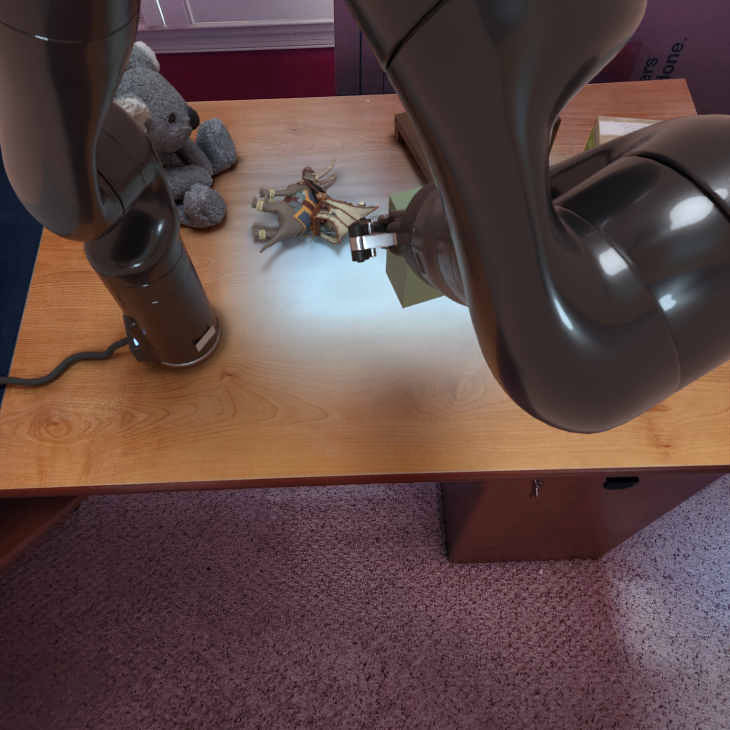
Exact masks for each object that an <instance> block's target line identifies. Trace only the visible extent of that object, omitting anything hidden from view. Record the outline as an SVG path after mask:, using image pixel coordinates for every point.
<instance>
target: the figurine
mask: <svg viewBox="0 0 730 730" xmlns="http://www.w3.org/2000/svg"><path fill="white" fill-rule="evenodd" d="M336 160H337V157H333V159H332V161H331V163H330V165H329V167H328V168H326V169H325V170H324V171H322V172H321V173H319V174H315V170H314V169H313V168H312V167H311V166H304V168H303V169H302V171H301V179H300V180H299V181H298V182H296V183H291V184H288V185H287V186H286V188H285V189H278V190H275V189H273V188H270V189H266V188H264V187H263V186H261V185H259V188H258V194H260V195H259V196H258V197H259V198H263V200H262V199H258V198H257V197H256V195H253V197H252V201H251V204H250V206H249V207H250V209H251V208H252V209H256V212H259V213H266V214H267V213H268V214H273V215H275V214H277V221H278V227H277V228H273V229H271V230H266V229H263V228H261V229H257V228H256V226H255V224H254V223H251V234H252V240H255V239H257V238H259V240H261V242H263V241H264V240H266V239H270V240H268V242H267V243H266V244H264V245H263V246H262V247H261V248H260V250H259V254H262V253H263V252H265V250H266V249H267V250H268V249H269V248H271V247H273V246H274V245H276V244H277V243H279V242H281V241H283V240H287V239H288V240H289V239H292V238H295V237H300V236H301V235H302V234H304V232H306V231H307V232H306V233H305V234H304V235H303V237H301V239H300V242H302V241H303V240H304V239H305V238H306V239H310V240H309V243H308V244H309V245H310V244H311V243H312V242H313V241H314V239H315V238H316V237H318V238H320V239H323V240H324V241H326V242H327V243H329V244H331V245H333V246H337V245H340V244H341V242H342V240H341V239H342V238H343V237H345V236H346V235H347V234H348V235H349V233H348V226H349V225H350V224H352V223H353V222H355V221H357V220H360V218H367V216H369V215H370V214H372V213H373V212H375V211H376V210H378V209H379V208H380V205H371V204H370V205H369V204H366V201H359V202H357V205H356V204H353V203H352V202H348V201H345V200H340V199H335V198H332V197H331V196H330V195H329V194H327V190H326V189H325V188H324V186H323V185H326V184H328V183H330V182H333V181H334V179H335V178H336V176H337V172H332V170H333V168H334V166H335V164H336ZM329 173H330V174H332V175H333V176H331V177H329V178H326V179H323V178H324V177H325V176H327V174H329ZM321 179H322V180H321ZM276 197H277V198H278V197H284V198H283V200H280V201H279V200H278V201H275V198H276ZM309 233H310V234H313V235H312V236H313V237H310V236H307V234H309Z"/></svg>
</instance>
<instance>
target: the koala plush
mask: <svg viewBox="0 0 730 730" xmlns="http://www.w3.org/2000/svg"><path fill="white" fill-rule="evenodd" d="M155 53H156V52H155V51H154V50H153V49H152V48H151V47H150V46H148V45H147V44H146V43H145V42H144V41H143V40H140V41H135V42H134V45H133V48H132V52H131V55H130V58H129V61H128V64H127V67H126V69H125V72H124V75H123V77H122V80H121V83H120V85H119V88H118V90H117V93H116V95H115V97H114V100H113V101H114V102H116V103H117V104H119V105H120V106H121V107H123V108H124V109H125V110H126V111H127V112H128V113H129V114H130V115H131V116H132V117H133V118H134V119H135V120H136V121H137V122H138V124H139V125H140V126H141V127H142V129H143V130H144V132H145V133H146V135H147V136H148V138H149V139H150V141H151V143H152V144H153V146H154V148H155V150H156V152H157V154H158V157H159V159H160V161H161V164H162V166H163V169H164V172H165V175H166V178H167V181H168V184H169V187H170V190H171V193H172V196H173V199H174V202H175V204H176V207H177V210H178V213H179V217H180V225H184V226H186V227H192V228H197V229H198V228H200V229H204V228H210V227H213V226H215V225H217V224H220V223H221V222H222V221H223V220H224V219H225V215H226V213H227V212H226V211H227V205H226V201H225V199H224V198H223V197H222V195H221V194H220V192H218V191H217V189H213V188H212V185H213V181H214V179H213V178H212V177H213V176H215V175H217V174H219V173H222V172H223V171H225V170H228V169H229V168H231V166H232V165H234V164H235V163H236V162H238V153H237V148H236V145H235V143H234V140H233V138H232V137H231V133H230V132H229V130H228V128H227V127H226V126H225V123H224V122H223V121H222V120H221V119H219V118H218V117H212V118H211V119H208V120H207V119H205V121H201V118H200V115H199V114H198V111H196V109H194V108H193V107H192V106H191V105H190V104H188V103H187V102H186V100H185V99H184V98H183V96H182V94H180V93H179V92H178V90H177V89H176V88H175V87H174V86H173V85H172V84H171V83H170V82H169V81H168V80H167V79H166V78H165V77H164V76H163V75H162V74H161V73H160V69H161V67H160V63H159V60H158V59H157V56H156V54H155ZM195 130H197V133H196V135H195V141H194V140H193V139H192V138H191V136H192V133H193V131H195Z"/></svg>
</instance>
